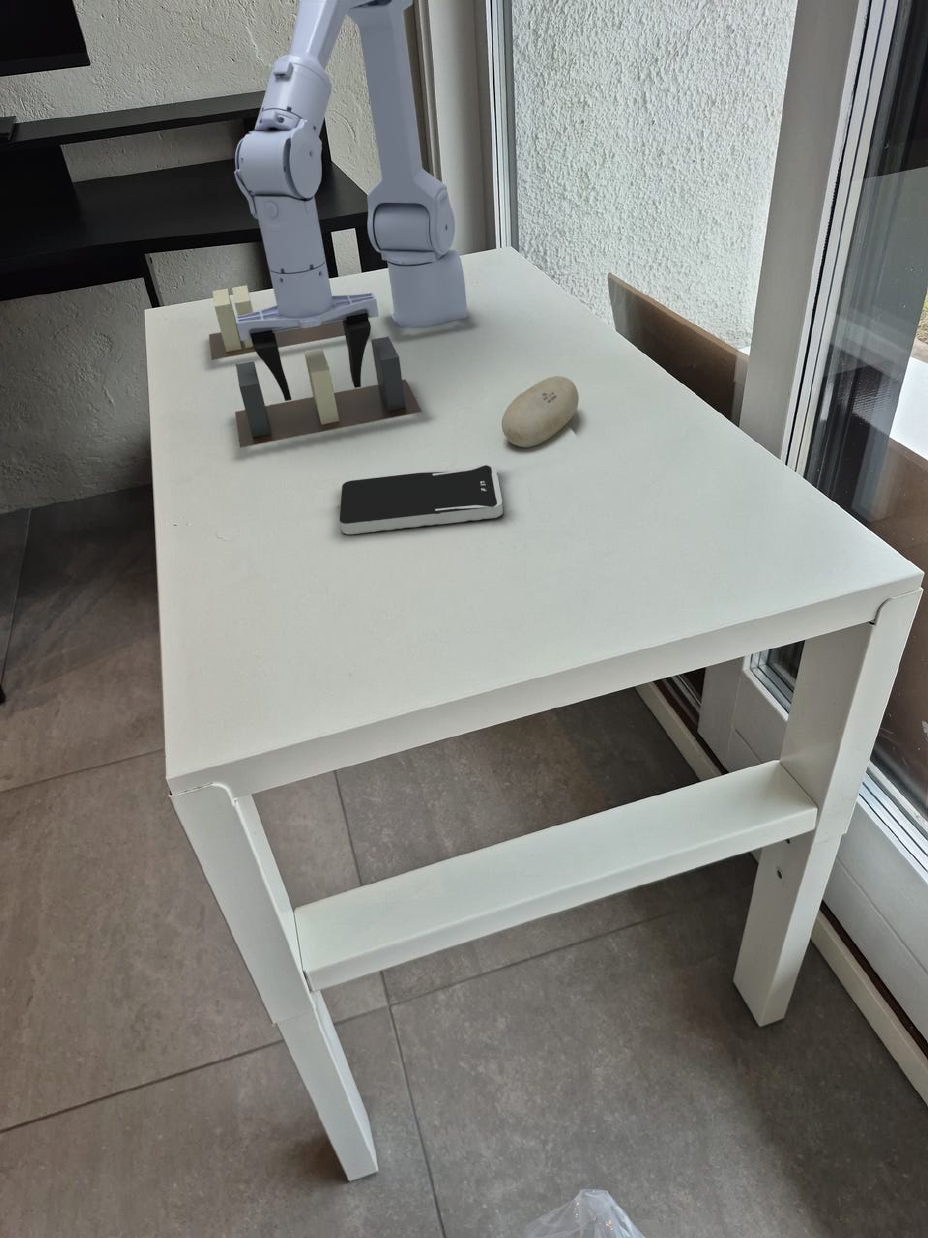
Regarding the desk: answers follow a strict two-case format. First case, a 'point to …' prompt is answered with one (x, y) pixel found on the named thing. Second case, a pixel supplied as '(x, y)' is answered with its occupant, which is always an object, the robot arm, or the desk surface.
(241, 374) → the grey books
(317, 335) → the shelf
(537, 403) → the stone
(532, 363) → the desk surface
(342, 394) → the shelf
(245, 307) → the cream books
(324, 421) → the cream book
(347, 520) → the smartphone
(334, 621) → the desk surface
